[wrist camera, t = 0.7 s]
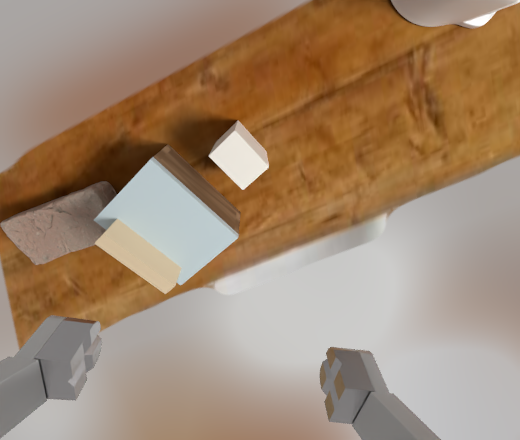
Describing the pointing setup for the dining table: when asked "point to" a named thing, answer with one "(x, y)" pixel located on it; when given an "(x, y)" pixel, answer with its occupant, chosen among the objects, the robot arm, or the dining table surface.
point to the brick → (60, 224)
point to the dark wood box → (199, 186)
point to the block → (240, 155)
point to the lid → (162, 228)
